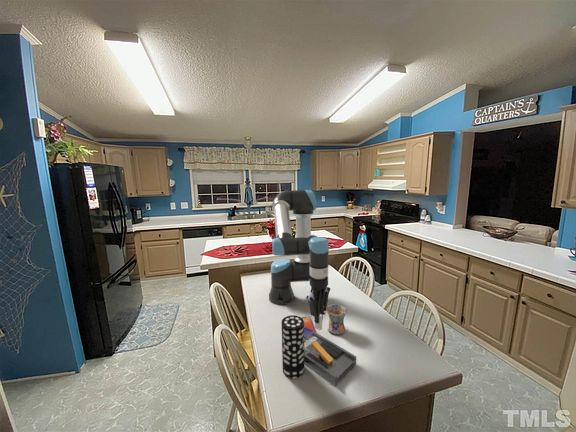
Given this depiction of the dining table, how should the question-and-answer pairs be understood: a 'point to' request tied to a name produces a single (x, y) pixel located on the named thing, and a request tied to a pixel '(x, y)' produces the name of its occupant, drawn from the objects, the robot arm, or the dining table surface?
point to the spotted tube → (293, 346)
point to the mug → (336, 318)
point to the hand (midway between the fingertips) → (318, 328)
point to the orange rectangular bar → (322, 352)
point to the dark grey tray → (312, 359)
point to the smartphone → (308, 326)
